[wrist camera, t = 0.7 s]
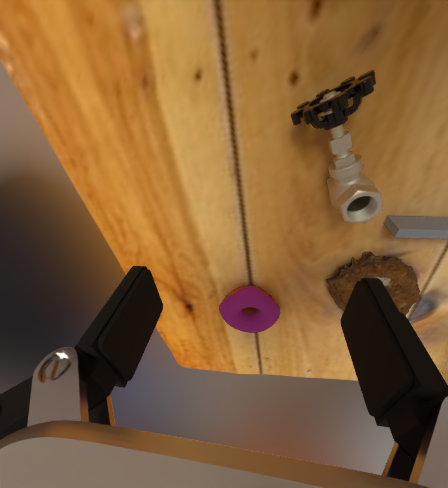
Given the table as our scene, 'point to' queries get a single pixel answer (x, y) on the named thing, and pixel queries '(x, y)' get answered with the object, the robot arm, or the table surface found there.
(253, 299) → the donut
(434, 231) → the dock cradle
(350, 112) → the valve
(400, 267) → the decorative rock
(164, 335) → the table surface
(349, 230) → the table surface
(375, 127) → the table surface
